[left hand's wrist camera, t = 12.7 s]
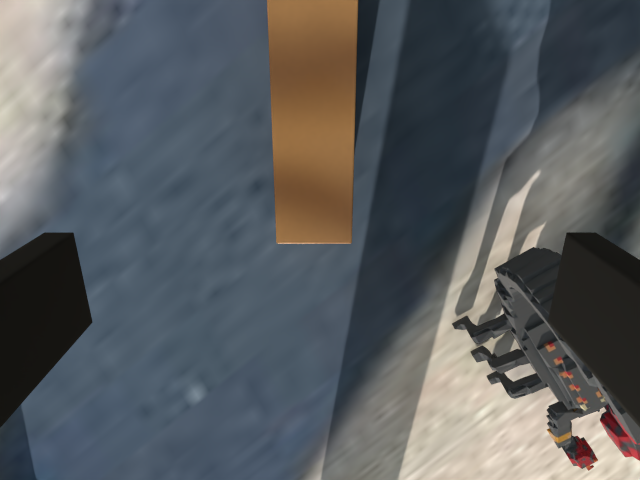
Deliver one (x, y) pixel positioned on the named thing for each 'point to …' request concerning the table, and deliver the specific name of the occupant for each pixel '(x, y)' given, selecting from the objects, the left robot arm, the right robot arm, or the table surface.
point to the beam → (313, 117)
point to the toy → (548, 357)
